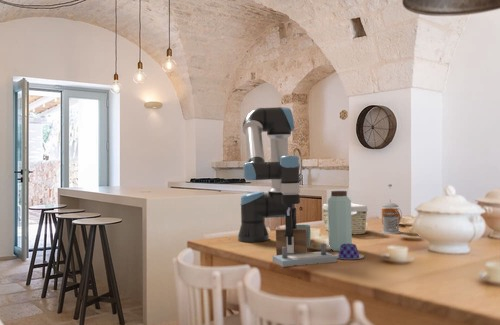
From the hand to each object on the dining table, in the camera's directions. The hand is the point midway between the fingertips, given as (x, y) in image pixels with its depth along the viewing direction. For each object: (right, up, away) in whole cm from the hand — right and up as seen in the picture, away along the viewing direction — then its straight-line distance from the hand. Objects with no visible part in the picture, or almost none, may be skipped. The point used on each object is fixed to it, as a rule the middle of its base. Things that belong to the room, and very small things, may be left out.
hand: (291, 251), depth 190 cm
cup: (+6, -2, +17) cm, 19 cm away
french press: (+57, -1, +56) cm, 80 cm away
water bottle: (+22, -2, +13) cm, 25 cm away
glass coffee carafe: (+65, 0, +83) cm, 106 cm away
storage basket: (+33, -1, +61) cm, 69 cm away
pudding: (+22, -2, -3) cm, 23 cm away
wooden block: (0, -2, +1) cm, 2 cm away
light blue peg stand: (+4, -2, -9) cm, 10 cm away
